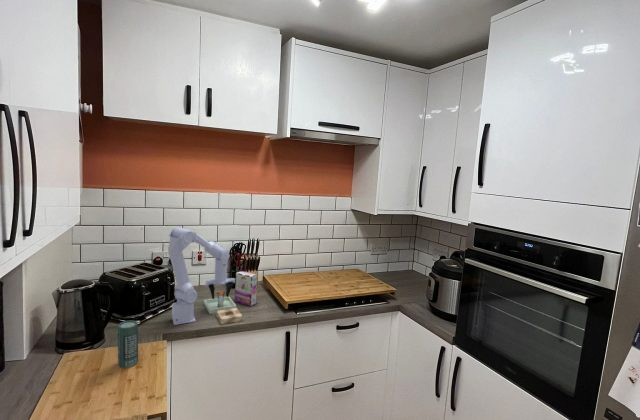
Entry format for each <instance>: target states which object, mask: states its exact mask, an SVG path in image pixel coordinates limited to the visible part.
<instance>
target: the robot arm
mask: <svg viewBox="0 0 640 420" xmlns="http://www.w3.org/2000/svg"><path fill="white" fill-rule="evenodd" d="M168 236H169V243H168V249H167V250H168V251H167V252H168V255H169V259H170V263H171V266H172V270H173V271H172V272H173V274H174V278H175V281H176V284H174V294H173V295H174V297H175V298H176V302H173V303H172V304H171V320H172V322H173V325H174V326H177V325H182V324H188V323H189V324H190V323H195V322H196V321H197V320H196V317H195V301H196V300H197V298H198V292H197V291H196V290H195V287H194V286H193V284H192V283H191V281H190V279H189V275H188V270H187V267H186V263H185V259H184V255H183V253H184V252H183V251H184V250H185V249H186V248H187V247H189V245H191V243H196V244H197V245H199V246H200V247H203V249H204V251H205V252H206V253H207V254H208V255H211V256H212V257H213V258H214V259H215V260H214V262H215V264H214V279H211V280H206V281H205V286H206V287H208V289H209V291H210V294H211V299H214V298H215V290H216V289H215V285H225V289H226V290H225V297H228V296H229V295H230V292H231V290H232V288H233V286H234V284H236V278H234V277H232V278H231V277H230V278H229V277H227V271H228V270H227V269H228V262H229V259H230V256H231V254H230V253H229V251H228V250H227V249H224V248H223V246H222V245H218V244H217V242H216V241H211V240H210V241H209V240H207V239H206V238H204V237H202V236H201V235H200V234H198V232H195V231H194V230H192V229H186V228H183V227H181V226H176V227H174V228H173V229H172V230H171V231H170V233H169V235H168ZM229 297H230V296H229Z"/></svg>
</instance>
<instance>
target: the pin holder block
mask: <svg viewBox="0 0 640 420" xmlns="http://www.w3.org/2000/svg"><path fill="white" fill-rule="evenodd" d="M215 315H216V318H217V320H218V322H219V323H220V324H221V325H226V324H230V323H231V324H233V323H238V322H243V314H242V313H241V312H240V311H239V309H238V308H237V307H236V308H232V309H225V310H219V311H216V314H215Z"/></svg>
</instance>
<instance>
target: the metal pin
mask: <svg viewBox="0 0 640 420" xmlns="http://www.w3.org/2000/svg"><path fill="white" fill-rule="evenodd" d="M216 295H217V298H218V302H217V307H218V308H221V307H223V305H224V297H225V295H226V290H225V291H224V290H217V291H216Z"/></svg>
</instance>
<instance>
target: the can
mask: <svg viewBox="0 0 640 420" xmlns="http://www.w3.org/2000/svg"><path fill="white" fill-rule="evenodd" d="M138 363H139V322H138V321H136V320H125V321H122V322H120V323H118V325H117V366H118V367H119V368H122V369H123V368H124V369H127V368H128V369H129V368H131V367H134V366H136V365H137V364H138Z"/></svg>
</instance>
